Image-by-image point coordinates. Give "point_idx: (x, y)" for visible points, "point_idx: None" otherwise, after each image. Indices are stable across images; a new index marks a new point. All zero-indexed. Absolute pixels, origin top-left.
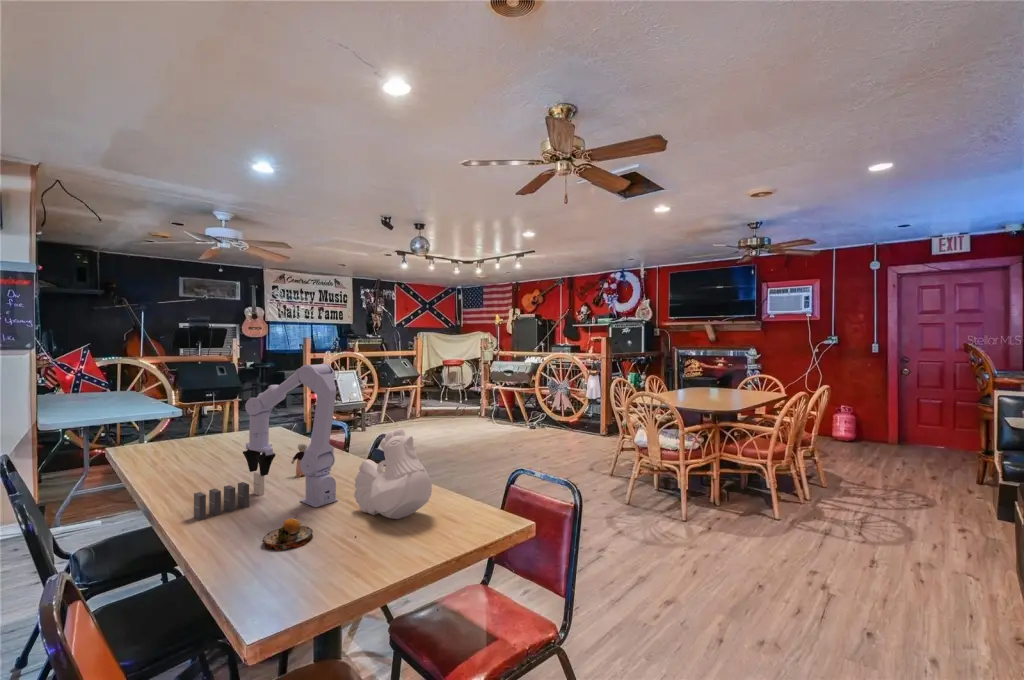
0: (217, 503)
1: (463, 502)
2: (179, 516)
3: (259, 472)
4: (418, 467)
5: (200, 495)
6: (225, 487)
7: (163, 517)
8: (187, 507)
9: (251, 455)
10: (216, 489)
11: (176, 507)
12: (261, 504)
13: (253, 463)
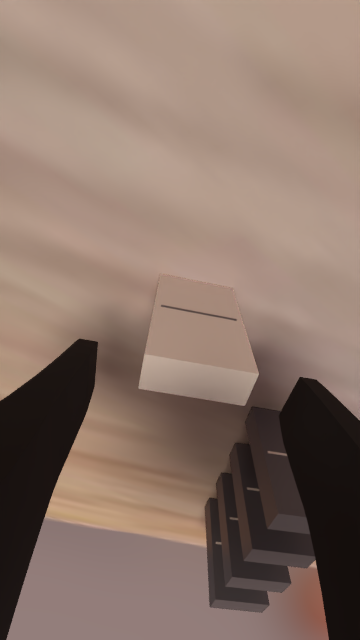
0: None
1: None
2: (157, 513)
3: (184, 370)
4: None
5: (257, 610)
6: (261, 560)
7: (125, 525)
8: (92, 479)
9: (15, 571)
10: (251, 579)
11: (61, 487)
12: (339, 383)
13: (63, 428)
